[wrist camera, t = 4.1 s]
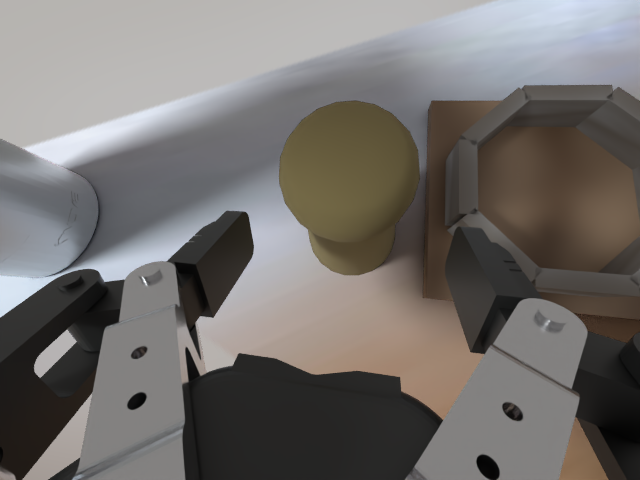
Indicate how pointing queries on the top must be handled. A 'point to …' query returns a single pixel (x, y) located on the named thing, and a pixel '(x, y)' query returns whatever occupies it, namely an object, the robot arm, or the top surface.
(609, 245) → the socket base
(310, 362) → the top surface
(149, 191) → the top surface
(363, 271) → the cork
